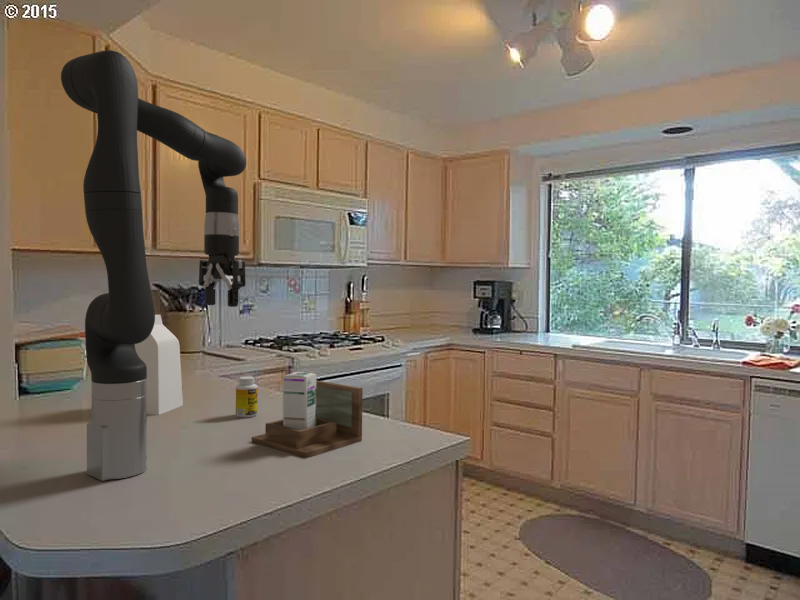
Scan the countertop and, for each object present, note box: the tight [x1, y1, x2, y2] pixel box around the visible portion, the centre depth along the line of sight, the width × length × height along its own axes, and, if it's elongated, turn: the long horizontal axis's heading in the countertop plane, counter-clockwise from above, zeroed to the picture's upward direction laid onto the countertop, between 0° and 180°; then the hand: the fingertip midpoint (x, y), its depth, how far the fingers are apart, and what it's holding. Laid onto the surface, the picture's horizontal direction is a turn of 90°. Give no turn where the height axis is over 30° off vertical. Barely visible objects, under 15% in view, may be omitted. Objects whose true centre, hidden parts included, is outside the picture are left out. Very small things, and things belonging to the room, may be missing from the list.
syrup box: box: [282, 371, 317, 430], centre depth 127 cm, size 6×6×14 cm
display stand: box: [251, 379, 364, 459], centre depth 129 cm, size 17×18×12 cm
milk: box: [135, 314, 184, 416], centre depth 158 cm, size 12×12×26 cm
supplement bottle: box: [235, 375, 258, 419], centre depth 152 cm, size 6×6×10 cm
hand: (221, 305), depth 130 cm, fingers open, 8 cm apart
